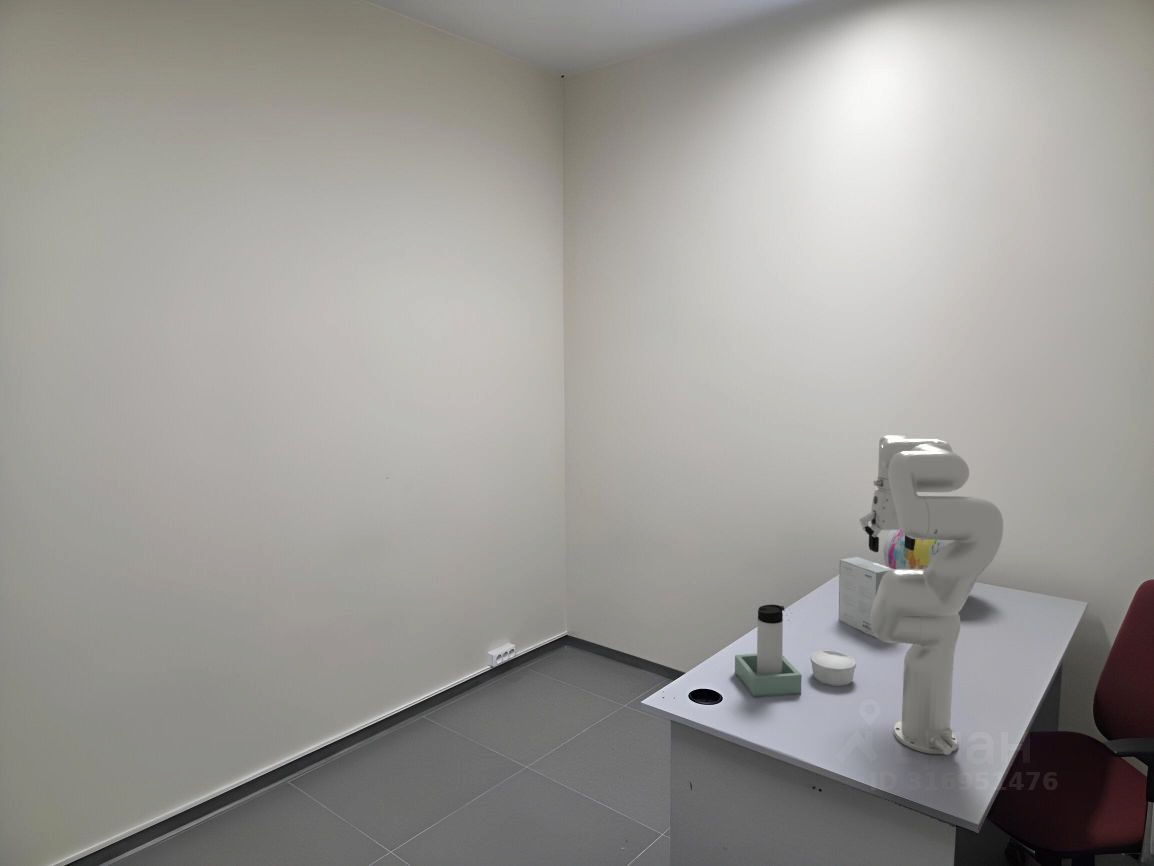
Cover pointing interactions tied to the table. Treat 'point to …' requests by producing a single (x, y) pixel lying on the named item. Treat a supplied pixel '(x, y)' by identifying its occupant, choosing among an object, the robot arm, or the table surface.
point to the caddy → (767, 678)
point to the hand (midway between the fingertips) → (891, 549)
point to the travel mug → (769, 640)
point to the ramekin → (833, 667)
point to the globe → (910, 551)
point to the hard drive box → (859, 591)
